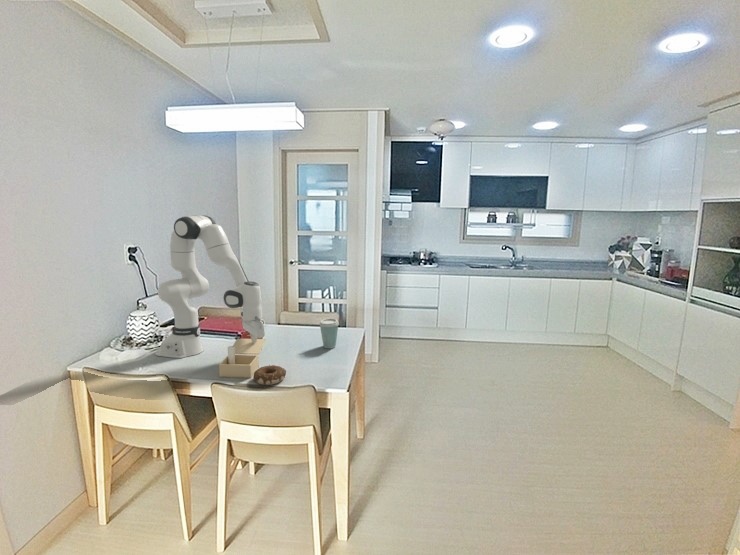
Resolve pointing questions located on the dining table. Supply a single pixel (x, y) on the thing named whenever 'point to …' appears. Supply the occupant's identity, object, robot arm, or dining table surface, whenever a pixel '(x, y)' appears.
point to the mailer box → (238, 365)
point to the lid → (248, 346)
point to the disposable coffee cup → (329, 332)
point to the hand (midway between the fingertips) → (254, 341)
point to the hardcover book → (247, 336)
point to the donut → (269, 375)
